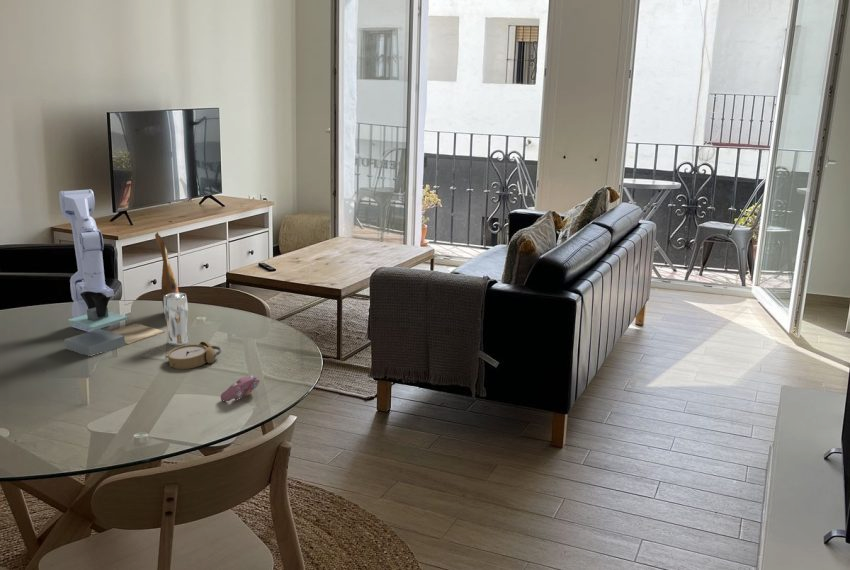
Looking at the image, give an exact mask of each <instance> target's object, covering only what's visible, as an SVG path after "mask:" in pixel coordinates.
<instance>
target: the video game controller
mask: <svg viewBox="0 0 850 570" xmlns="http://www.w3.org/2000/svg"><path fill="white" fill-rule="evenodd" d="M259 384H260V380H259V378H257V377H256V376H253V374H251V375H249V376H242V377H240V378H239V379H237V381H235V382H233V383H232V384H231V385H229V387H228V388H227V389H226V390H224V392H222V393H221V395H220V401H222V400H224V401H228V402H229V401H231V400H233V399H234V400H235V399H236V400H235V401H237V399H239V398H241V399H242V398H243V396H244V397H248V396H250V395H251V394H252V392H253V391H254V390H255V389H256V388H257V387H258V386H259ZM247 395H248V396H247Z"/></svg>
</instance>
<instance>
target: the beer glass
mask: <svg viewBox="0 0 850 570" xmlns="http://www.w3.org/2000/svg"><path fill="white" fill-rule="evenodd" d="M163 312H164V318H165V322H166V326H167V330H168V341H167V344H168V345H170V346H173V347H174V346H177V347H180V346H184V345H188V343H189V342H190V341H189V336H188V332H187V327H188V326H187V325H188V319H189V318H188V317H189V306H188V298H187V293H185V292H179V293H169V294H166V295H164V309H163Z"/></svg>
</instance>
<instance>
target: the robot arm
mask: <svg viewBox="0 0 850 570" xmlns="http://www.w3.org/2000/svg"><path fill="white" fill-rule="evenodd" d="M58 198H59V200H58V201H59V206H60V211H61V212H60V213H61V216H62V218H63V219H66V220H67V221H69V223H70V225H71V230H72V231H71V233H72V236H73V245H74V250H75V251H74V252H75V253H74V254H75V258H76V266H77V271H76V272H75V273H74V274H72V275H71V276H70V279H69V283H70V287H69V288H70V294H71V299H72V301H73V302H72V305H71V315H72V316H71V317H72V318H75V317H79V316H82V315H86V314H87V310H88V309H91V308H95V307H96V311H97V315H98V317H99V318H101V317H104V316H105V315H106V309H107V307H108V304H109V302H110V299H111V298H112V297H114V295H115V294H114V292H115V291H114V289H112V288H110V287H109V286H108V285H107V284H106V281H105V280H106V277H105V269H104V259H103V257H104V256H103V251H104V238H103V235H102V231H101V230H100V229H98V226H97V223H96V220H95V218H94V217H93V216H94V213H95V206H96V201H95V199H96V198H95V195H94V191H93V190H92V188H91V189H90V188H89V189H78V190H77V189H76V190H60V191H59V192H58ZM109 326H110V325H108V326H104V327H101V328H98V329H104V328H107V327H109ZM70 327H71V328H74V329H77V330H81V331H83V332H86V333H87V332H90V331H93V330H92V329H89V328H86V327H82V326H79V325H76V324H73V323H72V324H70ZM94 330H97V329H94Z"/></svg>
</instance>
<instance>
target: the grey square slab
mask: <svg viewBox="0 0 850 570" xmlns="http://www.w3.org/2000/svg"><path fill="white" fill-rule="evenodd" d="M124 346H126V344H125V338H124V336H122V335H119V334H115V333H112V332H110V331H108V330H105V329H103V328H101V329H97V330H93V331H90V332H87V331H86V332H84V333H81V334H79V335H78V334H77V335H74V336H70V337H67V338H64V348H65V350H68V351H70V352H73V351H74V352H73V353H76V352H77V353H76V354H79V355H83V354H85V355H84V356H86V355H89V356H91V355H93V354H97V353H100V352H104V353H106V352H105V351H107V352H110V351H112V350H115V349H119V348H121V347H124ZM89 356H88V357H89Z"/></svg>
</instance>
